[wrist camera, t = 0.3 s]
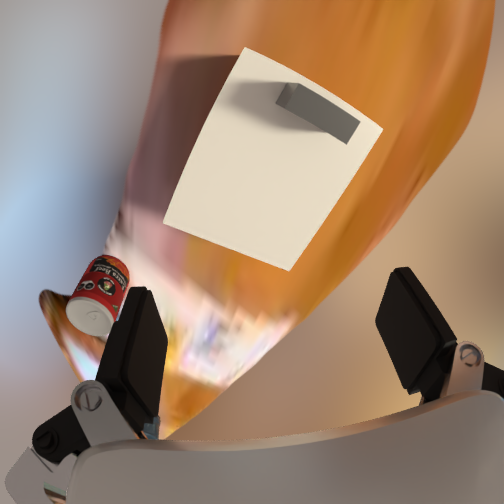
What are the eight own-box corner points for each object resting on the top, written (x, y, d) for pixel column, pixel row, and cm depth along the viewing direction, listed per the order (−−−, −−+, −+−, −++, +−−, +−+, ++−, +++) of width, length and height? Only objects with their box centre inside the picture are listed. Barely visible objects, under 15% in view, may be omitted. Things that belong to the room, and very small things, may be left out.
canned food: (139, 271, 45) (121, 320, 36) (117, 296, 48) (100, 343, 39) (102, 244, 42) (75, 290, 32) (83, 272, 44) (59, 317, 35)
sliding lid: (244, 48, 21) (247, 39, 17) (379, 127, 26) (408, 140, 22) (163, 219, 31) (152, 248, 26) (288, 267, 36) (296, 299, 31)
